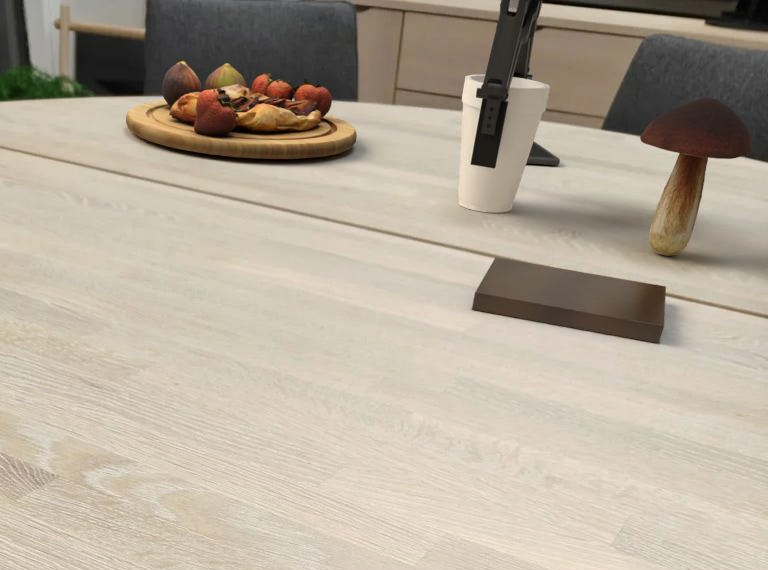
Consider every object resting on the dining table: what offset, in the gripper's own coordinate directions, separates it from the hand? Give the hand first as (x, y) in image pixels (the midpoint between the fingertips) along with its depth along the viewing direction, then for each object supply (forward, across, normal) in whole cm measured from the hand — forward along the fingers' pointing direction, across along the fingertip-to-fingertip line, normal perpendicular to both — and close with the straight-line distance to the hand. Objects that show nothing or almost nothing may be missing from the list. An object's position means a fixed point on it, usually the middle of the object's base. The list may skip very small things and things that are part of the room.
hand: (492, 155), depth 115 cm
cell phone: (+6, -35, 0) cm, 35 cm away
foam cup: (+6, 0, 0) cm, 6 cm away
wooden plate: (+6, -17, -37) cm, 41 cm away
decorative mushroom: (+5, +9, +21) cm, 24 cm away
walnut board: (+5, +33, +13) cm, 36 cm away
